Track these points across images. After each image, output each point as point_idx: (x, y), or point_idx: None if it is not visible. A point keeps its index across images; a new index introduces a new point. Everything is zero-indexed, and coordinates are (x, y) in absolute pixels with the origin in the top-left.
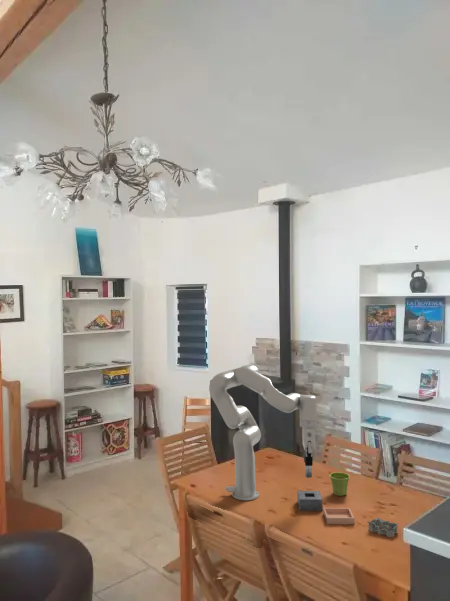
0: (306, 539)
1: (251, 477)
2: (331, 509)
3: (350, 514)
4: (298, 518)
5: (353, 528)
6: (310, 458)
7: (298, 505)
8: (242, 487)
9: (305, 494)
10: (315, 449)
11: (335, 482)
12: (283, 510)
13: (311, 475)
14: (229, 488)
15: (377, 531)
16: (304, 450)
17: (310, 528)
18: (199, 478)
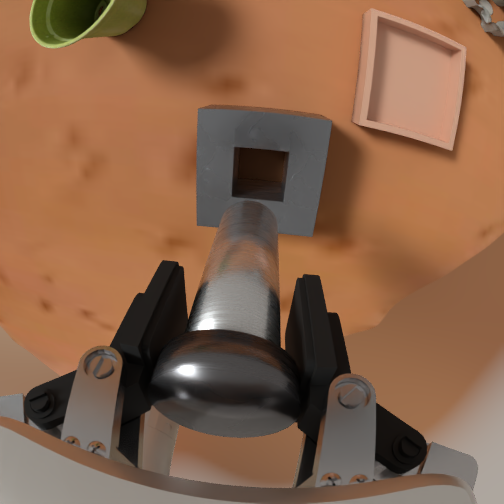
0: (490, 241)
1: None
2: (369, 89)
3: (419, 32)
4: (373, 231)
5: (477, 71)
6: (347, 373)
7: None
8: None
9: (232, 189)
10: (462, 486)
11: (112, 15)
12: (293, 268)
13: (266, 212)
14: None
15: (500, 21)
16: (126, 427)
17: (449, 212)
18: None
